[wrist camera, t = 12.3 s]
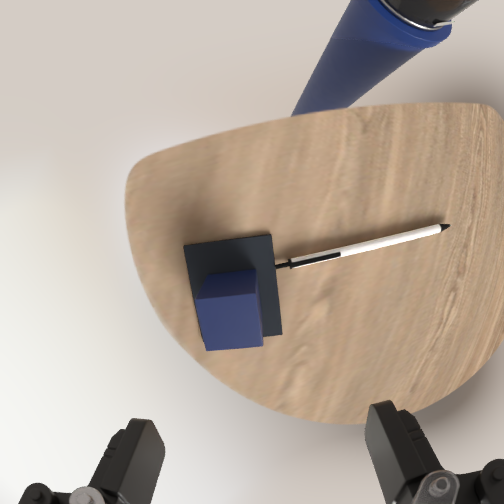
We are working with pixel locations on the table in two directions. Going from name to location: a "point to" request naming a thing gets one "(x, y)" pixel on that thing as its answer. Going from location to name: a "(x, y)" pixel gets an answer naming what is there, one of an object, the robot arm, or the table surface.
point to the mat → (239, 259)
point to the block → (230, 311)
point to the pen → (362, 246)
